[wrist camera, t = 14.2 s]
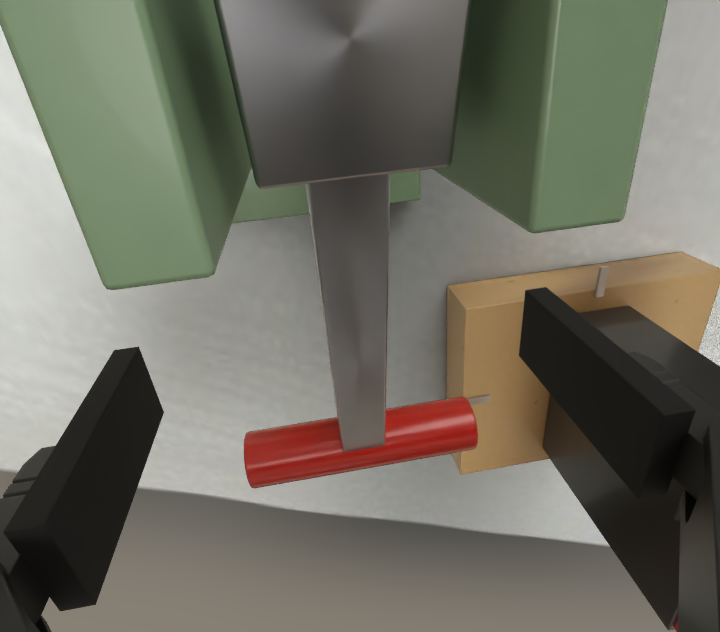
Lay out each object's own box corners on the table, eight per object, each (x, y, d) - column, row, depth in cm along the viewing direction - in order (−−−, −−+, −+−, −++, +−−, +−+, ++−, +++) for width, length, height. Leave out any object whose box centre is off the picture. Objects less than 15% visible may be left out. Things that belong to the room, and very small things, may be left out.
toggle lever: (452, 398, 14) (479, 474, 12) (254, 432, 13) (255, 515, 12) (590, -211, 5) (762, -224, 3) (-10, -182, 4) (-164, -181, 3)
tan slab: (689, 229, 22) (737, 248, 20) (637, 421, 28) (669, 453, 25) (445, 263, 21) (464, 287, 19) (444, 455, 27) (459, 492, 24)
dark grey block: (561, 315, 20) (748, 478, 12) (629, 304, 20) (855, 457, 12) (541, 448, 24) (672, 638, 16) (599, 437, 24) (756, 619, 16)
